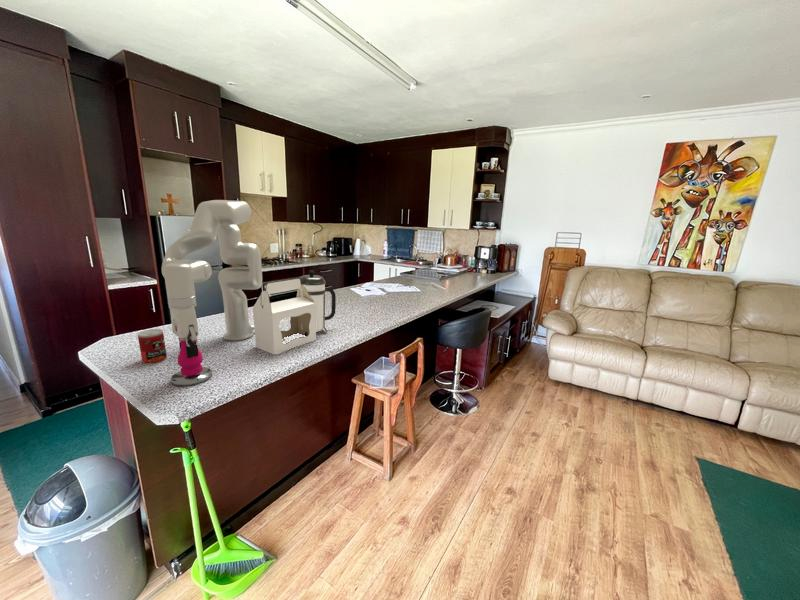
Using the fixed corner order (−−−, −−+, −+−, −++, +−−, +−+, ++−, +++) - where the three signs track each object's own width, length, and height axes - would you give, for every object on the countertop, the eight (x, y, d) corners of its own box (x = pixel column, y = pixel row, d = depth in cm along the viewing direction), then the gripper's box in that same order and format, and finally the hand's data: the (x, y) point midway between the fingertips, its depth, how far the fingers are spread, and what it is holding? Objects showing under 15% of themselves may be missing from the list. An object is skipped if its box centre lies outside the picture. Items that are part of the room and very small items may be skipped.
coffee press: (322, 338, 152) (322, 273, 146) (289, 334, 155) (288, 270, 148) (335, 327, 169) (336, 269, 163) (306, 324, 172) (305, 266, 165)
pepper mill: (209, 368, 116) (202, 313, 111) (192, 377, 109) (185, 319, 104) (191, 366, 117) (184, 311, 112) (174, 375, 110) (165, 317, 105)
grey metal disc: (204, 367, 121) (203, 363, 121) (218, 377, 114) (218, 373, 114) (165, 378, 112) (165, 374, 112) (178, 390, 105) (177, 386, 105)
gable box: (298, 333, 159) (295, 275, 152) (316, 340, 151) (315, 279, 145) (255, 347, 141) (249, 282, 134) (274, 355, 134) (269, 287, 127)
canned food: (148, 365, 121) (143, 337, 118) (138, 360, 125) (133, 332, 122) (171, 358, 127) (167, 331, 125) (161, 354, 131) (157, 327, 129)
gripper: (160, 299, 109) (168, 350, 114) (178, 309, 99) (186, 365, 103) (185, 295, 115) (192, 344, 119) (205, 304, 104) (212, 358, 109)
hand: (189, 353), depth 111 cm, fingers closed on pepper mill, 5 cm apart
